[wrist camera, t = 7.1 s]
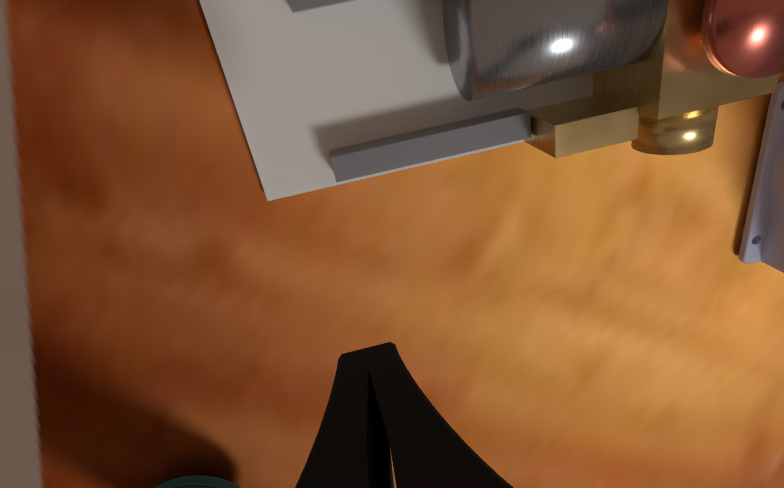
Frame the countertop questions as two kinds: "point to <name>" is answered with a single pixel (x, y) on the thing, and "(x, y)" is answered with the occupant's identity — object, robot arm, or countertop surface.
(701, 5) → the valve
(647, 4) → the metal cylinder
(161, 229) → the countertop surface
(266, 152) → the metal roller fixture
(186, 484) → the beverage bottle
